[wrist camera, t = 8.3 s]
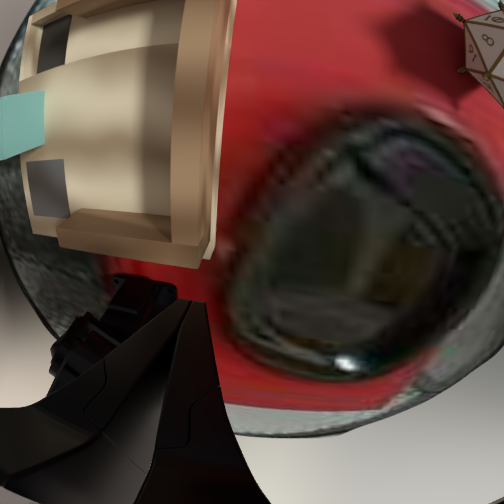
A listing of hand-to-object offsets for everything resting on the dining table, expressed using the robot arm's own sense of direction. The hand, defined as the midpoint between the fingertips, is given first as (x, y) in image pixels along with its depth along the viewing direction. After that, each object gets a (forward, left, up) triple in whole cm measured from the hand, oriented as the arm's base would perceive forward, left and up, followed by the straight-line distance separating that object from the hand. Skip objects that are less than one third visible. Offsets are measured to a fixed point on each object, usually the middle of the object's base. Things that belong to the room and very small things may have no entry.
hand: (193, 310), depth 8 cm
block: (+6, +18, -10) cm, 21 cm away
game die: (+15, -17, -12) cm, 26 cm away
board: (+6, +10, -12) cm, 17 cm away
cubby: (+6, +7, -10) cm, 13 cm away
